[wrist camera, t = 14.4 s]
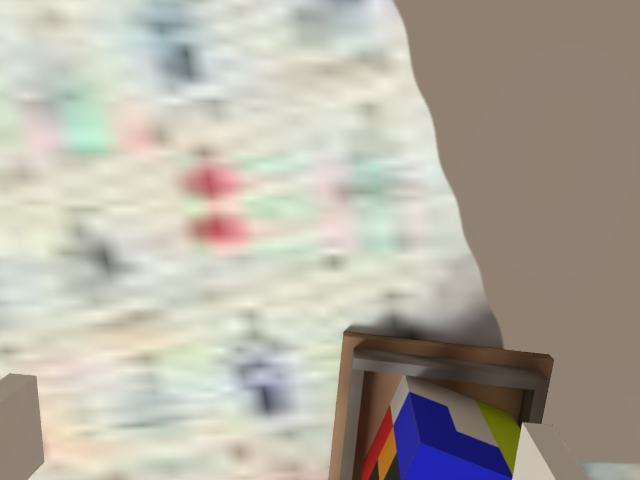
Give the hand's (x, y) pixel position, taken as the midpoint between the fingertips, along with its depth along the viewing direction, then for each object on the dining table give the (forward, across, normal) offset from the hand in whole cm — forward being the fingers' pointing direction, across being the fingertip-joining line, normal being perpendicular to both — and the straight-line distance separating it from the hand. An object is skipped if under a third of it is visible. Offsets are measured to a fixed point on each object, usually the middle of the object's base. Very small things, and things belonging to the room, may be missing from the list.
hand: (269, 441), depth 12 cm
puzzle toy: (+26, +11, -18) cm, 34 cm away
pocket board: (+27, +11, -18) cm, 34 cm away
